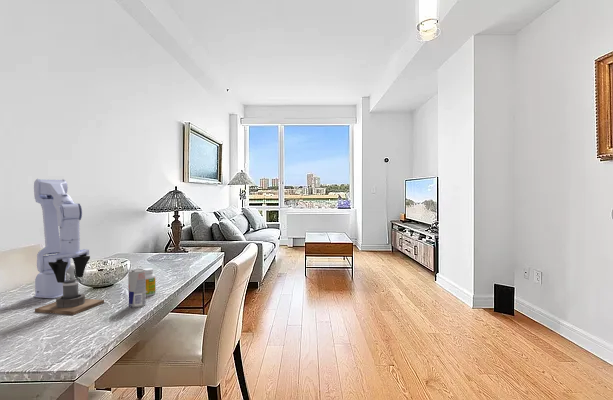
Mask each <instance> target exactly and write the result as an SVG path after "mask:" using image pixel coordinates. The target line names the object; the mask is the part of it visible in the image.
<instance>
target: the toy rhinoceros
mask: <svg viewBox="0 0 613 400" xmlns="http://www.w3.org/2000/svg"><path fill="white" fill-rule="evenodd" d="M74 268H75V264H74V262H71V265H70V267H69V269H67V271H65V272H66V280H71V279H75V277H74Z"/></svg>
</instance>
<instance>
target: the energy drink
mask: <svg viewBox="0 0 613 400" xmlns="http://www.w3.org/2000/svg"><path fill="white" fill-rule="evenodd" d="M144 269H145V268H140V269H139V268H138V269H137V268H136V269H131V270H129V271H128V274H127V275H128V276H127V281H128V282H127V284H128V285H127V286H128V290H127V291H128V307H130V308H133V309H136V308H142V307H144V306H146V305H147V300H146V297H147V296H146V278H145V270H144Z"/></svg>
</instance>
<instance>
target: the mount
mask: <svg viewBox="0 0 613 400" xmlns="http://www.w3.org/2000/svg"><path fill="white" fill-rule="evenodd" d="M104 303H105V300H104V299H93V298H86V295H85V294H84V293H78V298H74V299H66V300H64V299H63V296H60V297H57V298H55V301H54V302H51V303H48V304H44V305H42V306H39V307H37V308H34V312H35V313H42V314H43V313H47V314H57V315H58V314H59V315H71V316H72V315H73V316H74V315H78V314H79V313H82V312H85V311H88V310H89V309H92V308H95V307H98V306H99V305H103V304H104Z"/></svg>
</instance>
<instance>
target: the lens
mask: <svg viewBox="0 0 613 400" xmlns="http://www.w3.org/2000/svg"><path fill="white" fill-rule="evenodd" d="M78 294H79V279H77V278H76V279H71V280H65V281H64V282H63V299H64V300H66V299H74V298H78Z"/></svg>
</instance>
